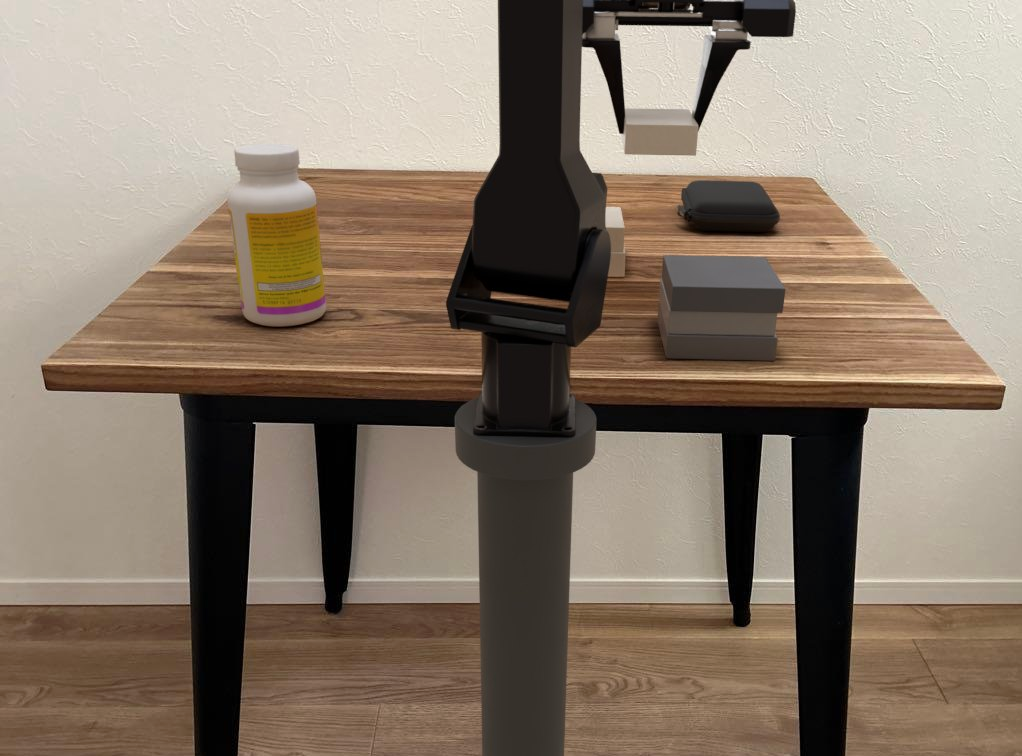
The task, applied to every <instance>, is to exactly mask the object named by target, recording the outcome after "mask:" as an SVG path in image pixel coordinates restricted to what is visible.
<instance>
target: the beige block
mask: <svg viewBox="0 0 1022 756" xmlns="http://www.w3.org/2000/svg"><path fill="white" fill-rule="evenodd" d="M605 225H606V230H607V231H608V233H609V235H610V240H611V258H610V266H609V272H608V278H624V277H625V276H626V256H627V254H626V253H627V251H626V248H625V235H626V234H625V233H626V227H625V223H624V217H623V213H622V208H621V206H606V213H605Z"/></svg>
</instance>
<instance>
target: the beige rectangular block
mask: <svg viewBox="0 0 1022 756" xmlns="http://www.w3.org/2000/svg"><path fill="white" fill-rule="evenodd" d="M698 135H699V131H698V124H697V122H696V121H695V119H694V118H693V117H692V112H691V110H690V109H688V108H687V109H684V108H681V109H680V108H678V109H677V108H626V107H625V120H624V134H620V136H621V141H622V147H623V153H624V155H631V156H632V155H634V156H635V155H637V156H638V155H641V156H642V155H643V156H690V157H691V156H694V157H695V156H696V155H697V148H698Z"/></svg>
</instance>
